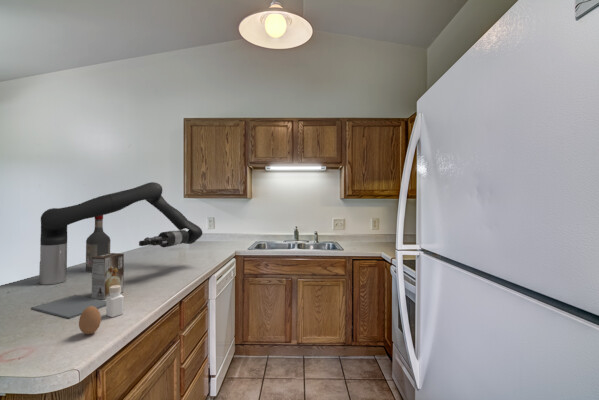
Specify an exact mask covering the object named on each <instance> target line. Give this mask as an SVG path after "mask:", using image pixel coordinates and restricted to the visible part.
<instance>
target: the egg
mask: <svg viewBox="0 0 599 400" xmlns="http://www.w3.org/2000/svg"><path fill="white" fill-rule="evenodd" d="M101 322H102V315H101V313H100V311H99V309H97V308H96V307H93V306H89V307H87V308H86V309H85V310H84V311H83V312H82V314H81V315H79V319H78V328H79V330H80V332H82V333H83V334H84V335H92V334H94V333H95V332H97V330H98V329H99V328H100V325H101Z"/></svg>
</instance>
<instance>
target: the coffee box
mask: <svg viewBox="0 0 599 400" xmlns="http://www.w3.org/2000/svg"><path fill="white" fill-rule="evenodd" d="M124 255H125V254H124V253H116V252H110V253H109V254H105V255H100V256H96V257H92V272H91V298H92V299H97V300H106V298H107V297H108V296H110V287H111V286H115V285H120V286H121V293H120V294H122V293H124V288H125V287H124V285H125V284H124V276H125V275H124V274H125V273H124V272H125V270H124V269H125V268H124V267H125V265H124V263H125V262H124V261H125V260H124V259H125V257H124Z"/></svg>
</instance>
